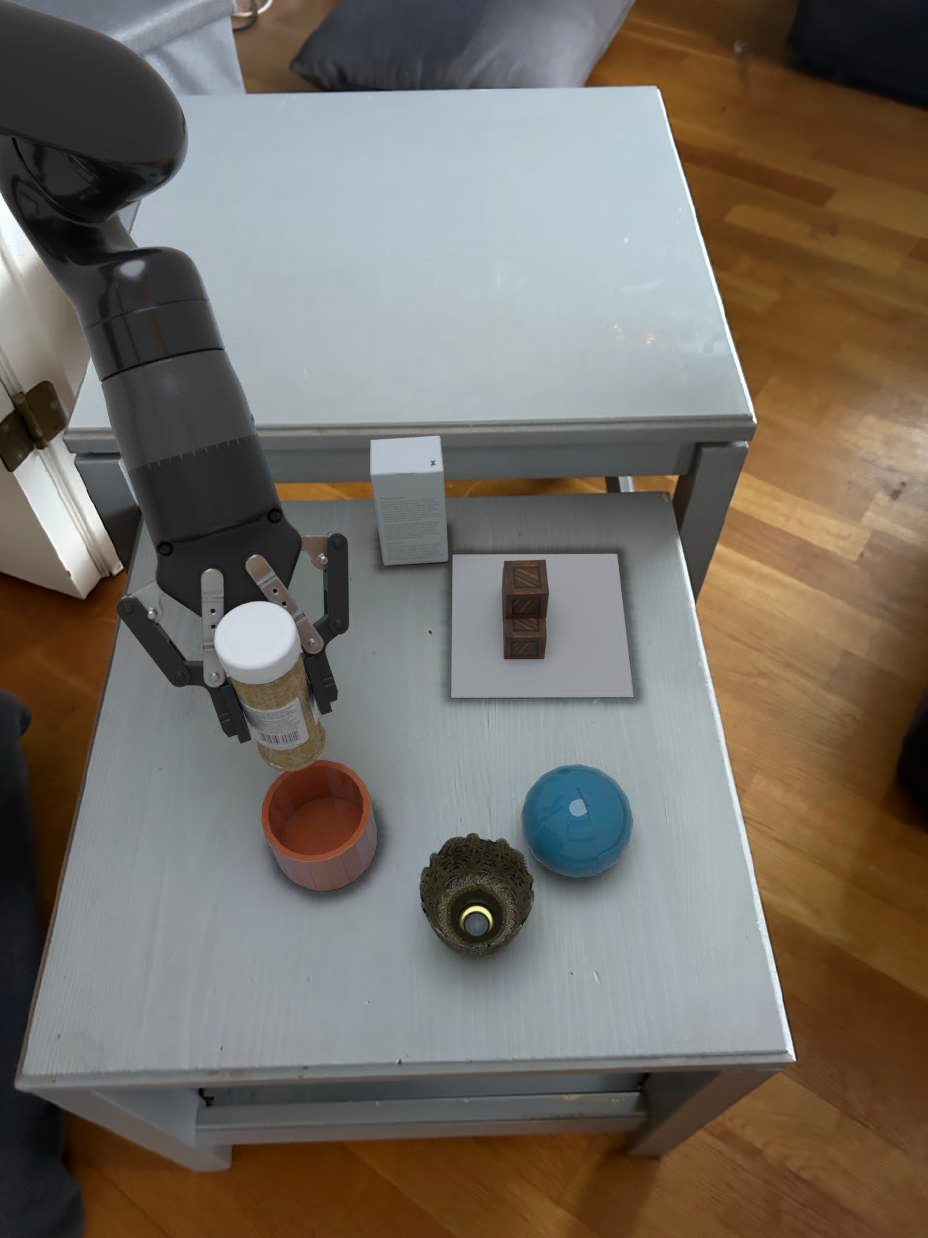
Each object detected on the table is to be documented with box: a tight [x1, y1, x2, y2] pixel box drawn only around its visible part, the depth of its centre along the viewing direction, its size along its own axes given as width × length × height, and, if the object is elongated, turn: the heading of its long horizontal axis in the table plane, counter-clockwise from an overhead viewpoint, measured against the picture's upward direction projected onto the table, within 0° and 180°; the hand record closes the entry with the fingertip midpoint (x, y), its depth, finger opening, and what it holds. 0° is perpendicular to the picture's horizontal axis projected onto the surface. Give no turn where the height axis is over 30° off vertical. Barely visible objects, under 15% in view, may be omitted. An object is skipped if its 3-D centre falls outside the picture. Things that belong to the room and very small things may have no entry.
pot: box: [260, 759, 378, 892], centre depth 68 cm, size 8×8×6 cm
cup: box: [418, 832, 535, 958], centre depth 64 cm, size 8×7×8 cm
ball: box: [520, 763, 634, 879], centre depth 67 cm, size 8×8×8 cm
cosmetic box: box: [369, 435, 449, 566], centre depth 82 cm, size 6×4×12 cm
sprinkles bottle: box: [214, 601, 326, 772], centre depth 57 cm, size 5×5×13 cm
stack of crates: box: [450, 553, 634, 699], centre depth 79 cm, size 15×15×7 cm
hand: (285, 723), depth 57 cm, fingers closed on sprinkles bottle, 4 cm apart
